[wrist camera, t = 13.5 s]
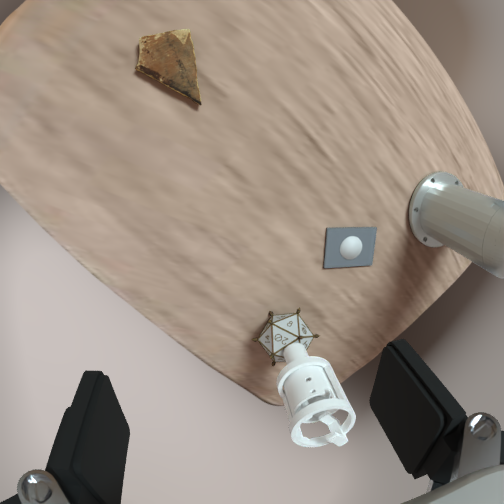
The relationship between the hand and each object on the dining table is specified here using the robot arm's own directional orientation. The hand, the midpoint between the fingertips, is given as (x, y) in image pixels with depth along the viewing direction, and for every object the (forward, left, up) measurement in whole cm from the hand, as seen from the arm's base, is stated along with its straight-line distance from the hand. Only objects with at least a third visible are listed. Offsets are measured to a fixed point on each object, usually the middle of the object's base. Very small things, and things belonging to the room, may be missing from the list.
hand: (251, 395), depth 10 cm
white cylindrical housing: (-9, +20, -27) cm, 34 cm away
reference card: (-19, +8, -34) cm, 40 cm away
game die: (-9, +20, -35) cm, 41 cm away
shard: (+5, -18, -35) cm, 40 cm away
